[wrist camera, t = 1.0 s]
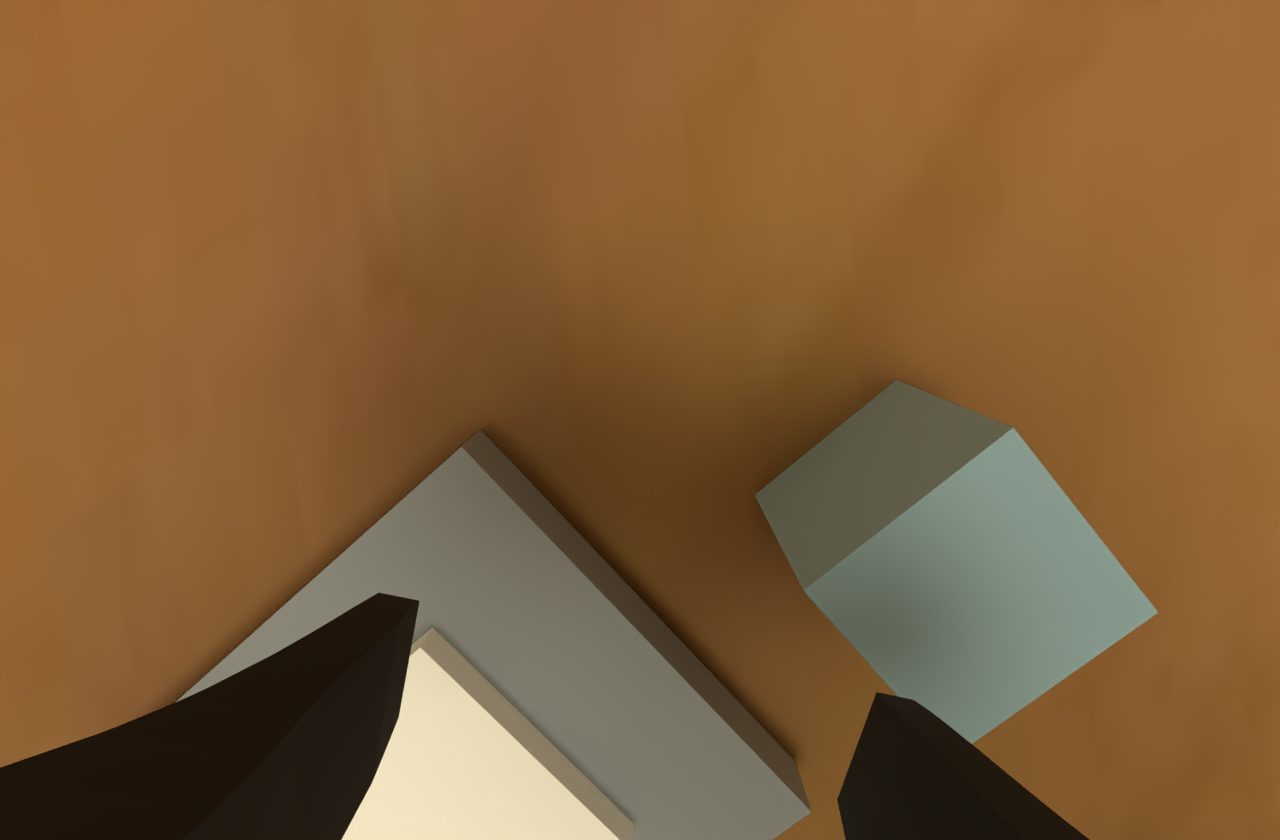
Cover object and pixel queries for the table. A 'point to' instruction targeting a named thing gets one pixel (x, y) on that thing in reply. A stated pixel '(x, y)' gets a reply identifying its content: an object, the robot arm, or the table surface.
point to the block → (949, 558)
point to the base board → (534, 682)
